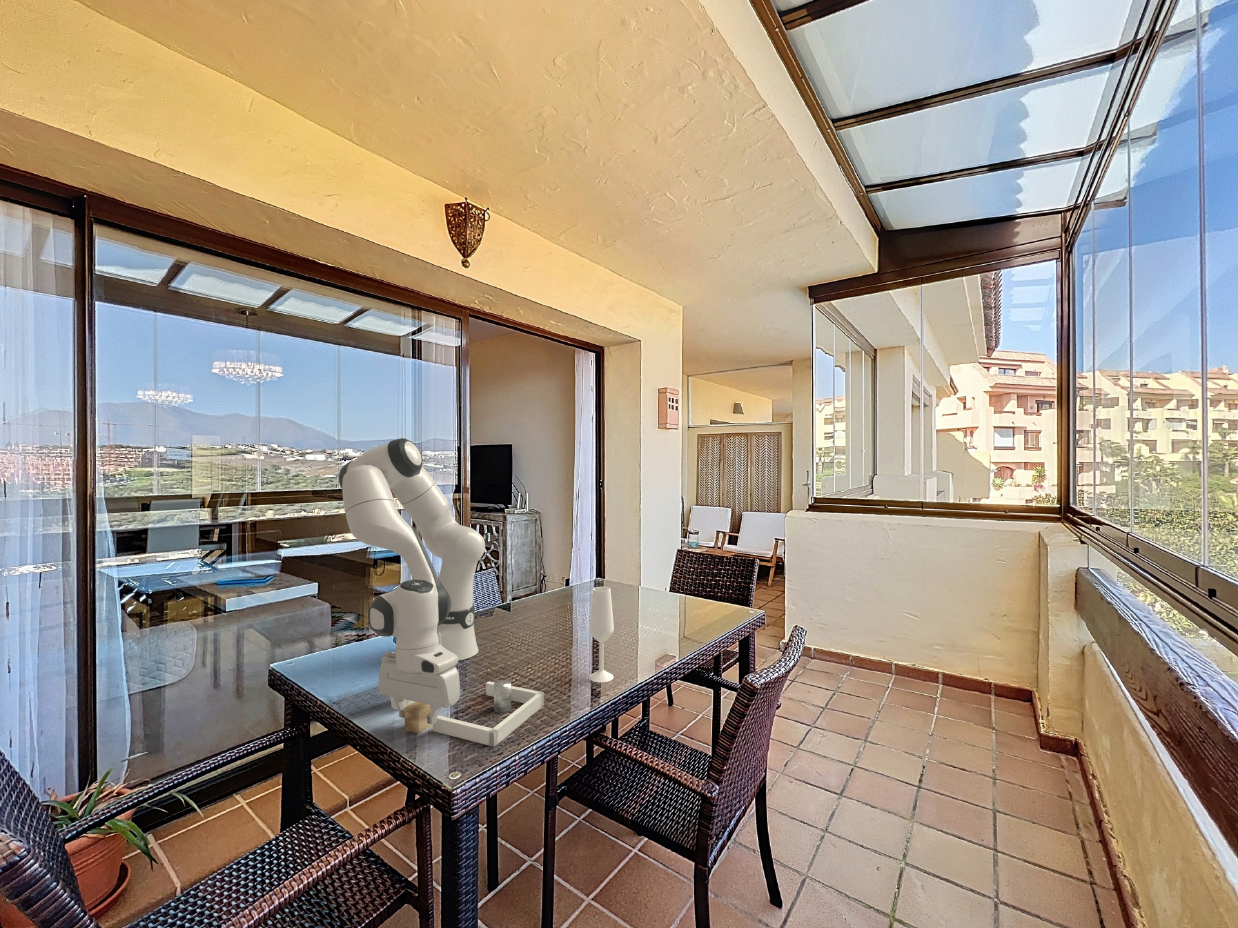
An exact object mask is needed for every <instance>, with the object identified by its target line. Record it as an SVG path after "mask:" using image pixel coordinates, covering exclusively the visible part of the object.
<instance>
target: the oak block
mask: <svg viewBox="0 0 1238 928" xmlns="http://www.w3.org/2000/svg"><path fill="white" fill-rule="evenodd" d="M432 710H433V709H430V705H429V704H424V703H419V702H413V703H411V704H410V705H408V706H406V707H405V718H404V731H407V732H410V733H413V734H417V735H419V734H421V733H423V732H424V731H425V730H427V729H429V728H430V727H431V726H433V725H432V724H428V723H427V716H428V715H430V714H431V712H432Z"/></svg>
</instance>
